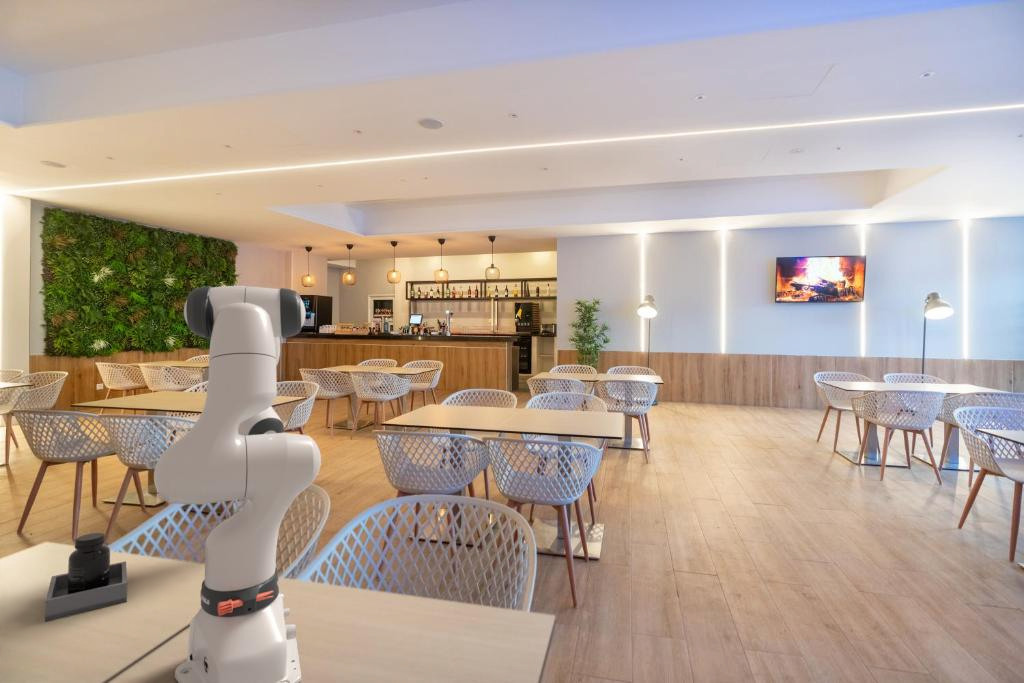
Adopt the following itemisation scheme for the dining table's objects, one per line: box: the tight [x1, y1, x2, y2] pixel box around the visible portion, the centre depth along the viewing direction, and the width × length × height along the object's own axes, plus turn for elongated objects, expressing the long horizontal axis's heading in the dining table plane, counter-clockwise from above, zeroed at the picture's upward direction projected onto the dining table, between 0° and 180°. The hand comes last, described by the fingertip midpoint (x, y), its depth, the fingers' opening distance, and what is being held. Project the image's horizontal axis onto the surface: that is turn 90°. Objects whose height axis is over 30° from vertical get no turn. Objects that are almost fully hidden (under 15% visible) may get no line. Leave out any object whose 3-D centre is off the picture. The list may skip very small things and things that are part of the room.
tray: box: [44, 560, 128, 623], centre depth 106 cm, size 13×13×4 cm
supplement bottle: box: [67, 532, 111, 594], centre depth 106 cm, size 7×7×12 cm
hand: (153, 468), depth 114 cm, fingers open, 8 cm apart
